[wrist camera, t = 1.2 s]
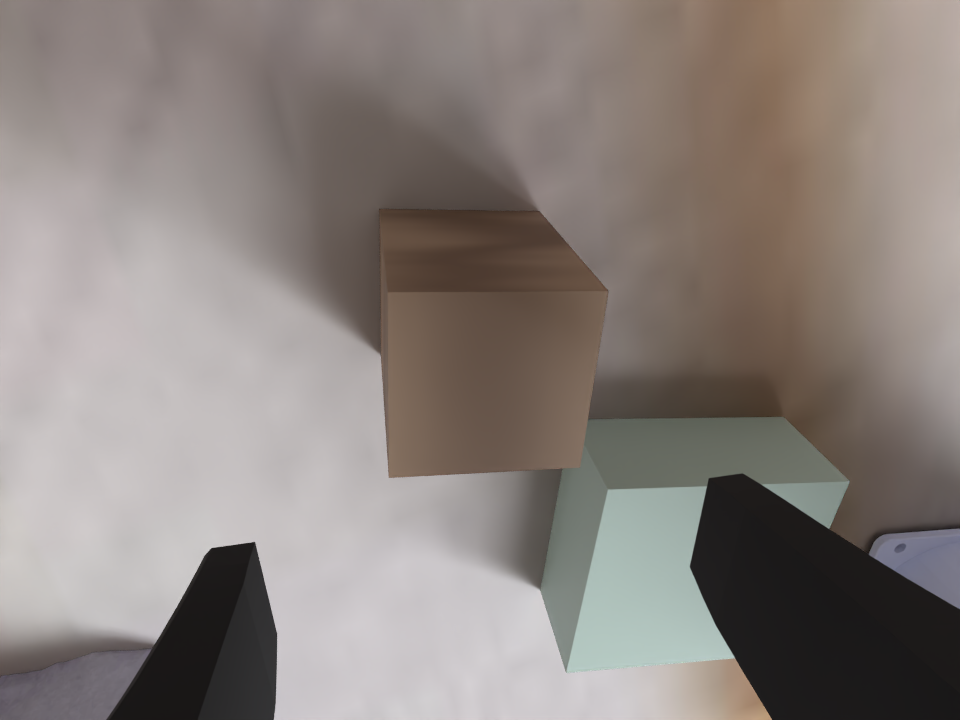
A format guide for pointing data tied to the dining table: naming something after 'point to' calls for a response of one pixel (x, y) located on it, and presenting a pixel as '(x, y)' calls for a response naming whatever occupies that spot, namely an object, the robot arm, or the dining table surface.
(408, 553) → the dining table surface
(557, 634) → the sage block
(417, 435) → the walnut block
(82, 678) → the stone block
